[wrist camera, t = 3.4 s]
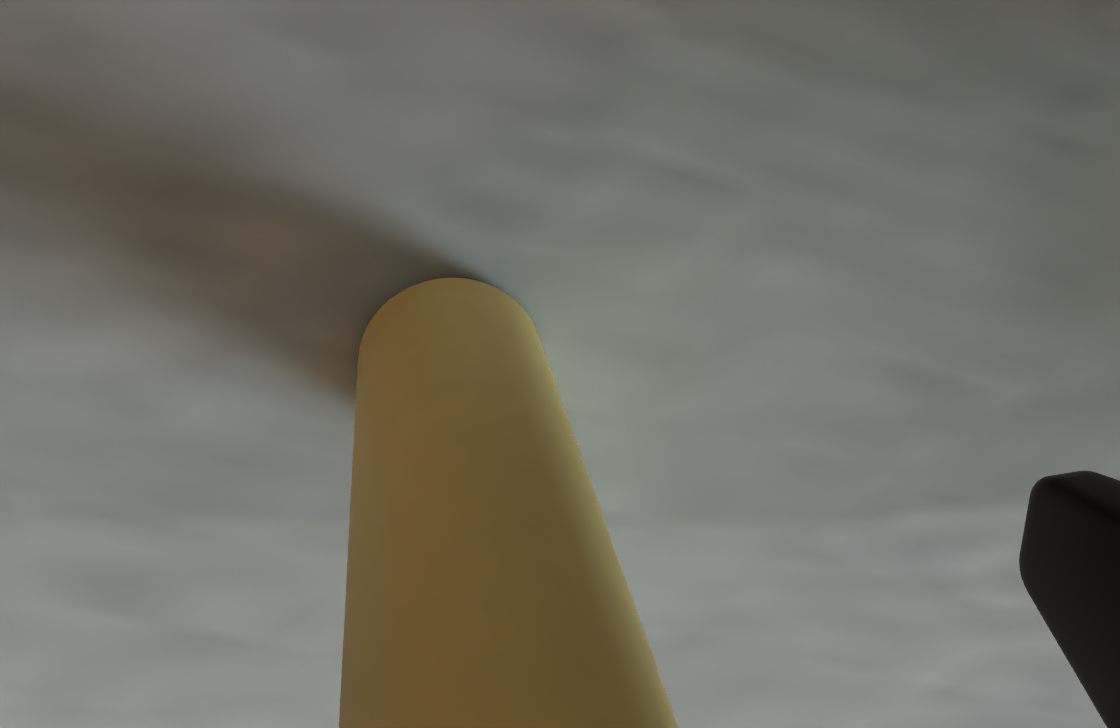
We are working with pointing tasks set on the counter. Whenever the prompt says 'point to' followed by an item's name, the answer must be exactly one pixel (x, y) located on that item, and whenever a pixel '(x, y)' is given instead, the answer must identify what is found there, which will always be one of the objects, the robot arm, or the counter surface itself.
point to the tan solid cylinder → (479, 535)
